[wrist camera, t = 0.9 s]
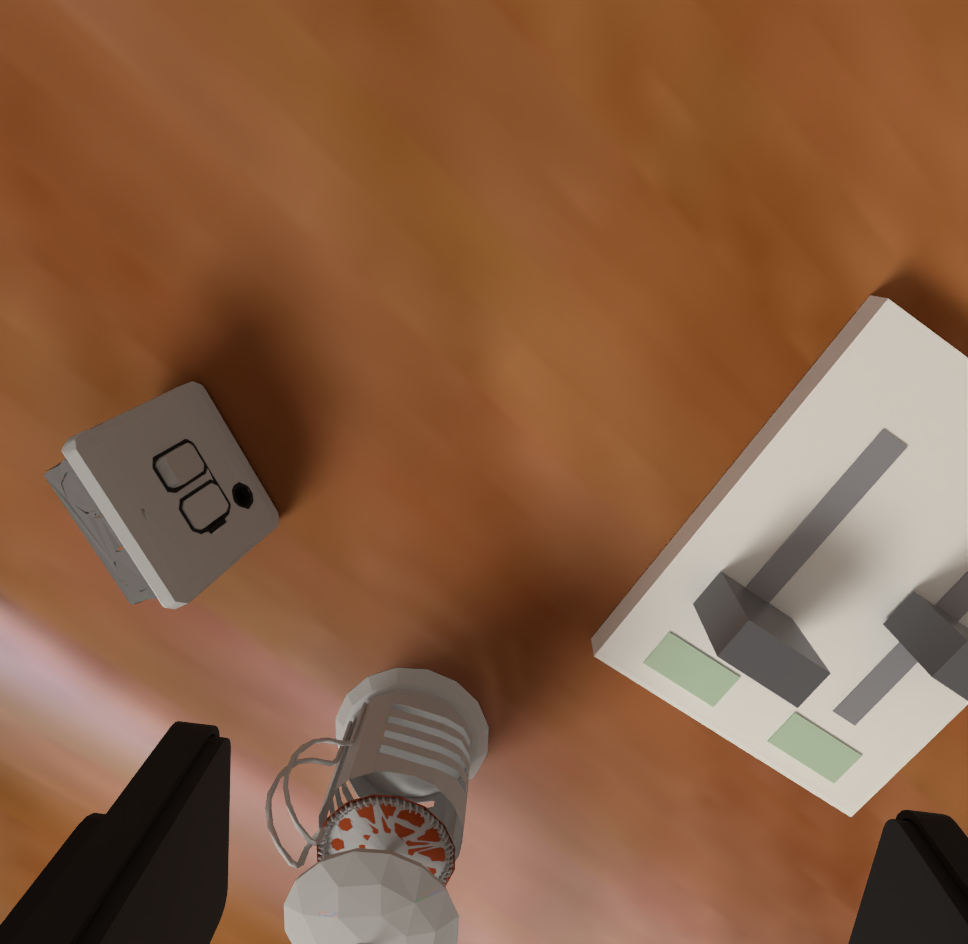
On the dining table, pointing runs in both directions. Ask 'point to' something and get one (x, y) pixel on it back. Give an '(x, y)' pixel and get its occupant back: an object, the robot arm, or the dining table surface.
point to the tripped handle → (933, 641)
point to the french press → (388, 814)
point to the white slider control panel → (819, 568)
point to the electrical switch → (164, 496)
